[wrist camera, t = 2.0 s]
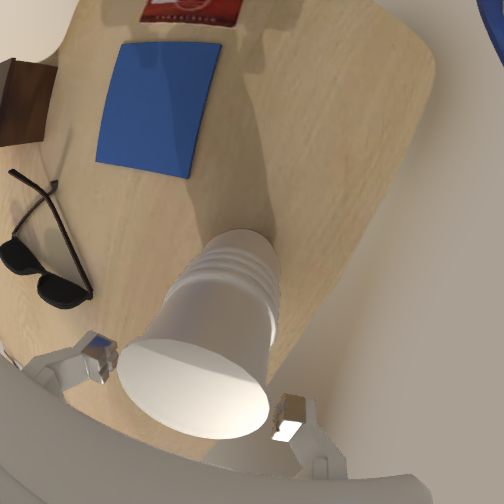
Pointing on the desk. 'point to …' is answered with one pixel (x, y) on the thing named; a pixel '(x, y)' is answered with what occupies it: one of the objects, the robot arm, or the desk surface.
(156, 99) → the cloth
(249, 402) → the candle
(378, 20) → the desk surface
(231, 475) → the robot arm
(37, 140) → the box
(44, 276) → the sunglasses
